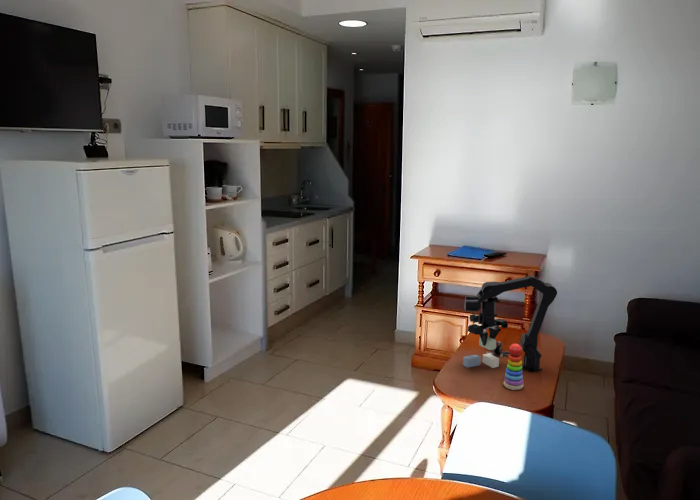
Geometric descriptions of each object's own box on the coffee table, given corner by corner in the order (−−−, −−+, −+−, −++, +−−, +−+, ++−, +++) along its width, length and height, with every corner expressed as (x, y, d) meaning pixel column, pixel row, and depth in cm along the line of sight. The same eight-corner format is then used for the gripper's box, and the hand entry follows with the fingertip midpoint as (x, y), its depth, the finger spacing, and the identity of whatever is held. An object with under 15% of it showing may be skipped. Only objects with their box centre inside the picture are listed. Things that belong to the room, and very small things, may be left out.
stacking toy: (499, 384, 226) (501, 341, 223) (515, 381, 229) (517, 339, 225) (511, 392, 219) (513, 348, 215) (527, 388, 222) (530, 345, 218)
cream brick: (498, 366, 244) (499, 358, 243) (492, 368, 243) (492, 359, 242) (488, 361, 250) (489, 353, 250) (482, 362, 249) (482, 354, 248)
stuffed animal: (513, 358, 251) (492, 341, 254) (500, 372, 255) (480, 355, 258) (516, 349, 262) (496, 333, 264) (504, 362, 266) (484, 347, 268)
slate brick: (475, 362, 249) (476, 354, 248) (480, 365, 246) (480, 357, 245) (462, 365, 246) (463, 356, 245) (467, 368, 243) (467, 359, 242)
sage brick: (495, 348, 239) (496, 340, 239) (489, 350, 238) (489, 341, 237) (485, 343, 246) (485, 335, 245) (479, 345, 244) (479, 336, 243)
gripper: (491, 303, 250) (490, 335, 253) (459, 310, 241) (459, 343, 244) (509, 309, 240) (508, 342, 243) (476, 316, 232) (476, 351, 234)
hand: (487, 344), depth 241 cm, fingers closed on sage brick, 3 cm apart
